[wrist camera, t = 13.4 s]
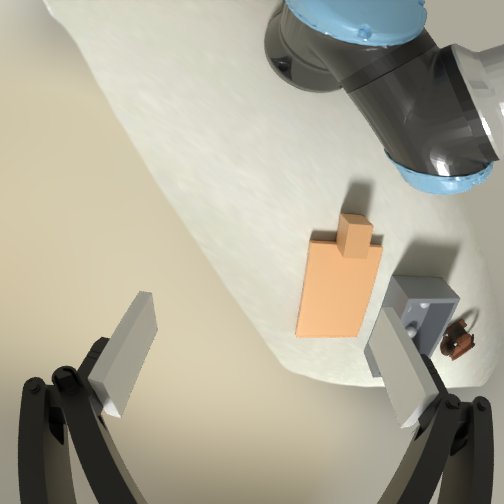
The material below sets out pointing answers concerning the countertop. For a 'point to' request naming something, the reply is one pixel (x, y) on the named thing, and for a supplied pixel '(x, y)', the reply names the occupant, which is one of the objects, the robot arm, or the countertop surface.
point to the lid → (339, 281)
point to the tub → (418, 311)
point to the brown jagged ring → (457, 341)
